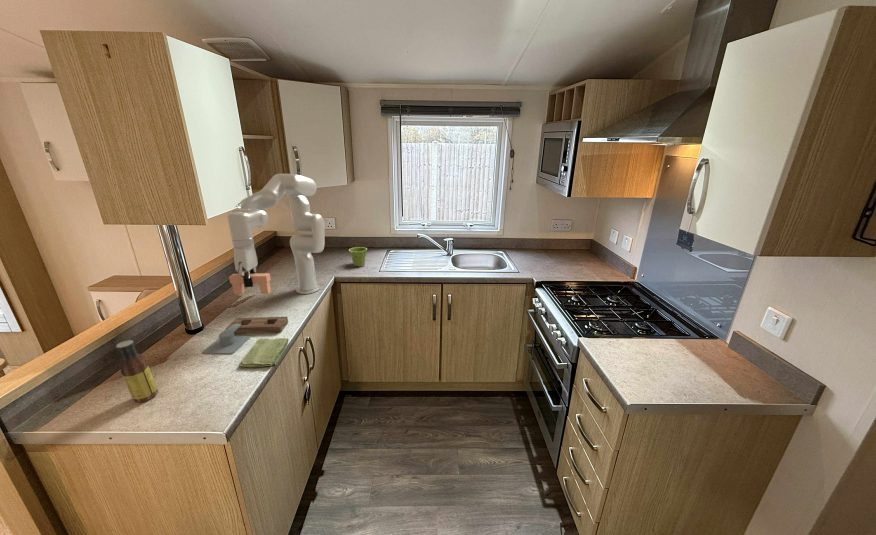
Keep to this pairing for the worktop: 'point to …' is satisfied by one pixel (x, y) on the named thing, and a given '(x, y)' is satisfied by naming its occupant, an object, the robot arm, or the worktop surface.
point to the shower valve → (227, 342)
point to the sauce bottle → (136, 372)
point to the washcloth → (265, 352)
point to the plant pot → (358, 255)
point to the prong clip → (256, 278)
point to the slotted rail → (260, 325)
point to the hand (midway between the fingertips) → (251, 284)
